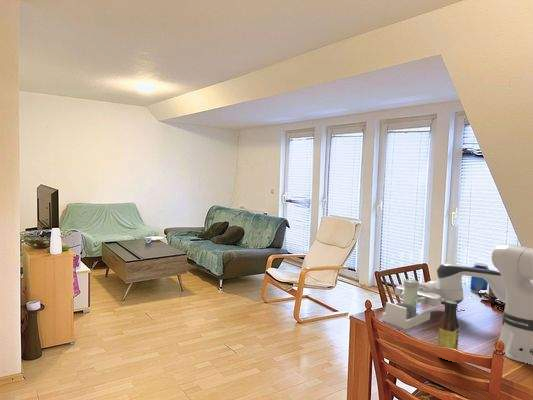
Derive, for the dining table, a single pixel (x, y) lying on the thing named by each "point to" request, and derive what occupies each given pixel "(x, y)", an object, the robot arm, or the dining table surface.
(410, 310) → the pusher
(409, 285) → the jar
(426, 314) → the pusher lane
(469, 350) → the dining table surface
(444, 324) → the sauce bottle
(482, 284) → the beer can
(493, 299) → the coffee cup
